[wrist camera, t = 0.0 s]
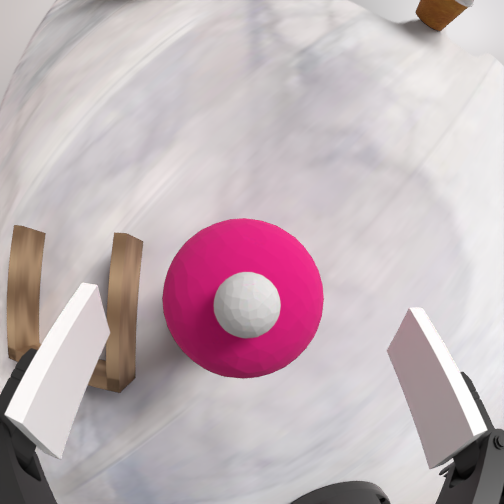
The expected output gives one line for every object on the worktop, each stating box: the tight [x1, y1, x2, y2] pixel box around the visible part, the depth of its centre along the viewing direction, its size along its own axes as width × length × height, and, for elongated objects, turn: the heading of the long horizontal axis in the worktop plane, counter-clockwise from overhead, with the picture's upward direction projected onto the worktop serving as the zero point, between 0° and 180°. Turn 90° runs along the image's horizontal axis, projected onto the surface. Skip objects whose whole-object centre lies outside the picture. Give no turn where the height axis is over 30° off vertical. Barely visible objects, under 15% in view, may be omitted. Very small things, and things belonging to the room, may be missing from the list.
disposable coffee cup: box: [416, 0, 474, 31], centre depth 28 cm, size 10×10×12 cm
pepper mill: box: [162, 218, 324, 378], centre depth 17 cm, size 7×7×20 cm
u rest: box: [7, 225, 143, 393], centre depth 23 cm, size 13×13×4 cm
